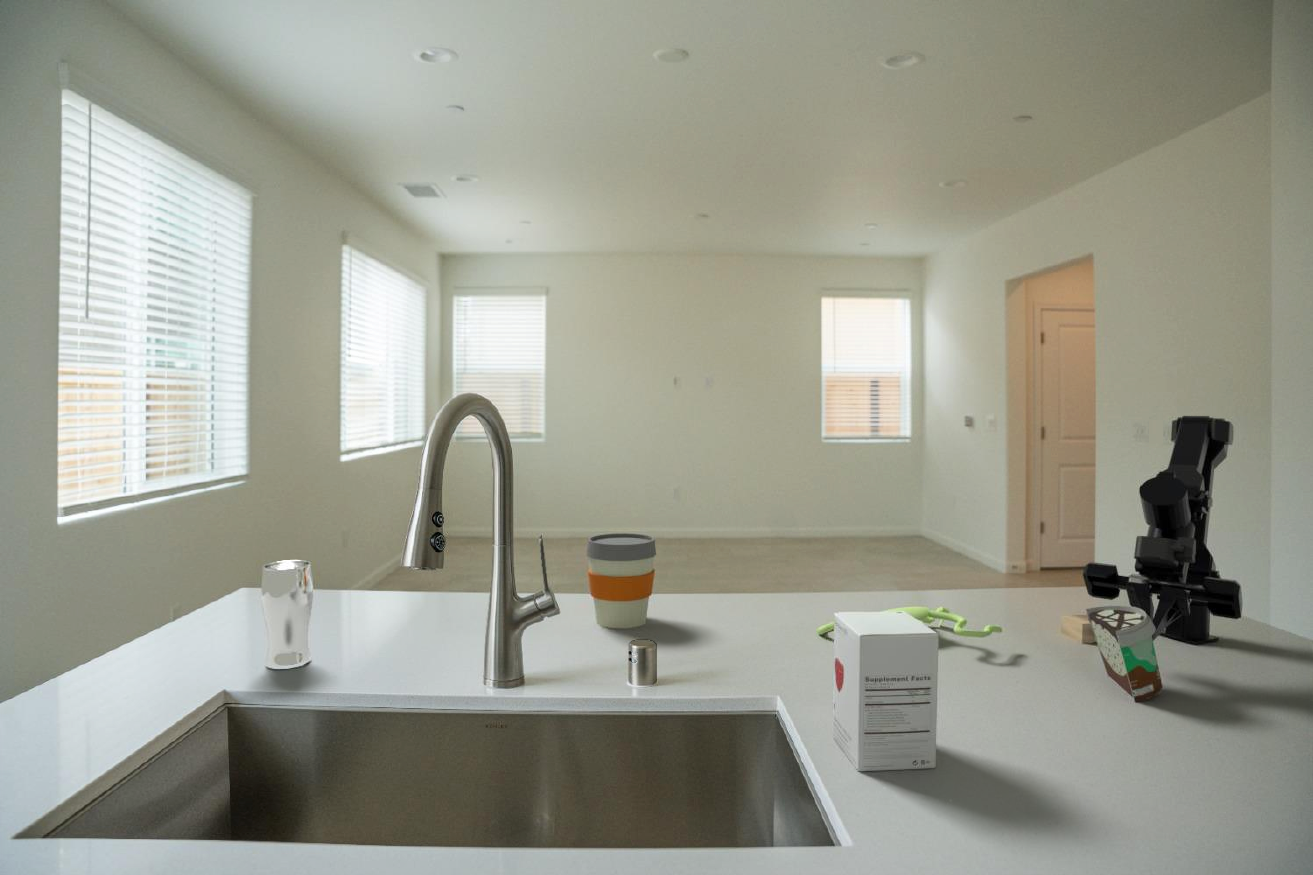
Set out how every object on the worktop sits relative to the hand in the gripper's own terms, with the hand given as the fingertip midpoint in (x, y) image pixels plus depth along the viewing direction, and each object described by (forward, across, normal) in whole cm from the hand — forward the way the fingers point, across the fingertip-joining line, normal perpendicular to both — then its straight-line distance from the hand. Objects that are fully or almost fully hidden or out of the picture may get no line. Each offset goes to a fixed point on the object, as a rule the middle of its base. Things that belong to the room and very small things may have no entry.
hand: (1149, 638), depth 105 cm
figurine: (+8, -33, +3) cm, 34 cm away
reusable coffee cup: (+25, -76, -14) cm, 81 cm away
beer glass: (+61, -96, -50) cm, 124 cm away
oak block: (-10, -12, +20) cm, 25 cm away
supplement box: (+36, -18, -26) cm, 48 cm away
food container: (+6, 0, +3) cm, 6 cm away
